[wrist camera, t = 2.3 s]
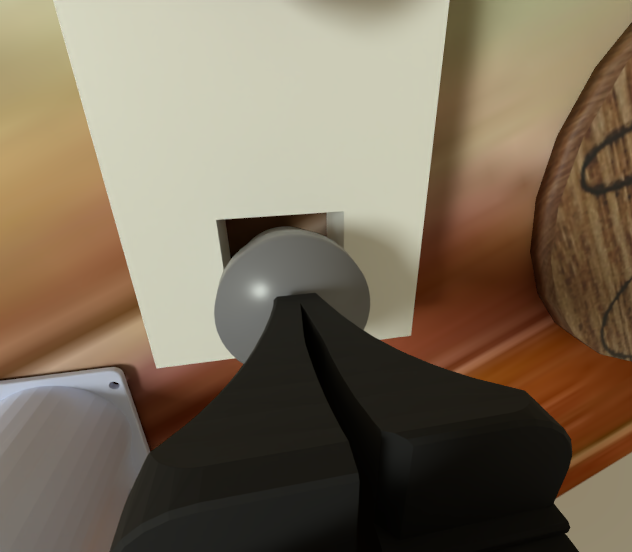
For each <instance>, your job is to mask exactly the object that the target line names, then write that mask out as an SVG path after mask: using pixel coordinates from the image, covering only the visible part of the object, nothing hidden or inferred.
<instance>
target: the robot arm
mask: <svg viewBox="0 0 632 552" xmlns="http://www.w3.org/2000/svg"><path fill="white" fill-rule="evenodd" d="M273 301H274V303H273V308H272V312H271V315H270V317H269V320H268V322H267V324H266V327H265V329H264V331H263V333H262V335H261V337H260V339H259V341H258V342H257V344H256V346H255V348H254V349H253V351H252V353H251V354H250V356H249V357H248V359H247V360H246V362H245V363H244V364H243V366H242V367H241V369H240V370H239V371H238V372H237V374H236V375H235V376H234V377H233V379H232V380H231V381H230V382H229V383H228V385H227V386H226V387H225V388H224V389H223V390H222V391H221V392H220V394H219V395H218V396H217V397H216V398H215V399H214V400H213V401H212V402H210V403H209V404H208V405H207V406H206V407H205V408H204V409H203V410H202V411H201V412H200V413H199V414H198V415H197V416H196V417H195V418H193V419H192V420H191V421H190V422H189V423H187V424H186V425H185V426H184V427H182V428H181V429H180V430H179V431H177V432H176V433H175V434H173V435H172V436H171V437H170V438H168V439H167V440H166V441H164V442H163V443H162V444H161V445H159V446H158V447H157V448H155V449H154V450H152V451H151V452H150V450H149V447H148V444H147V441H146V438H145V435H144V432H143V429H142V426H141V423H140V420H139V417H138V414H137V411H136V408H135V405H134V402H133V399H132V396H131V393H130V390H129V387H128V384H127V381H126V378H125V375H124V372H123V371H122V370H121V369H120V368H117V367H107V368H99V369H91V370H83V371H75V372H67V373H59V374H51V375H43V376H35V377H27V378H20V379H12V380H4V381H0V552H579V551H578V550H577V549H576V547H575V546H574V545H573V543H572V542H571V541H570V539H569V538H568V537H567V535H566V534H565V533H567V532H568V531H569V529H570V526H569V523H568V521H567V519H566V518H565V517H564V516H563V514H562V513H561V512H560V511H559V510H558V508H557V507H556V506H555V504H554V501H555V498H556V496H557V494H558V492H559V489H560V487H561V485H562V482H563V480H564V478H565V476H566V473H567V471H568V469H569V465H570V461H571V458H572V446H571V439H570V437H569V436H568V434H567V432H566V431H565V429H564V428H563V427H562V426H561V425H560V424H559V423H558V422H557V421H556V420H555V419H554V418H553V417H552V416H550V415H549V414H548V413H547V412H546V411H545V410H544V409H543V408H542V407H541V406H540V405H539V404H538V403H537V402H536V401H535V400H534V399H533V398H532V397H531V396H530V395H529V394H528V393H527V392H525V391H524V390H520V389H516V388H512V387H508V386H504V385H499V384H495V383H491V382H487V381H483V380H479V379H475V378H472V377H469V376H465V375H462V374H459V373H456V372H453V371H450V370H447V369H444V368H441V367H438V366H435V365H433V364H430V363H427V362H425V361H423V360H420V359H418V358H416V357H413V356H411V355H408V354H406V353H404V352H402V351H400V350H398V349H396V348H394V347H392V346H390V345H388V344H386V343H384V342H382V341H380V340H379V339H377V338H375V337H373V336H372V335H370V334H369V333H367V332H366V331H364V330H362V329H361V328H359V327H358V326H356V325H355V324H354V323H352V322H351V321H349V320H348V319H347V318H345V317H344V316H343V315H341V314H340V313H339V312H338V311H336V310H335V309H334V308H333V307H332V306H330V305H329V304H328V303H327V302H326V301H324V300H323V299H322V298H321V297H320V296H319V295H317V294H316V293H307V294H298V295H288V296H278V297H276V298H275V299H274V300H273ZM112 382H117V383H118V384H114V383H112Z"/></svg>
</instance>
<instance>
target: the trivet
mask: <svg viewBox="0 0 632 552" xmlns="http://www.w3.org/2000/svg"><path fill="white" fill-rule="evenodd" d="M530 253H531V259H532V265H533V270H534V276H535V282H536V288H537V293H538V295H539V297H540V298H541V300H542V302H543V303H544V305H545V307H546V308H547V310H548V312H549V314H550V315H551V317H552V319H553V320H554V322H555V323H556V324H558V325H559V326H560V327H562V328H563V329H564V330H566V331H567V332H569V333H570V334H571V335H573V336H574V337H575V338H577V339H578V340H580V341H581V342H583V343H584V344H586V345H587V346H589V347H590V348H592V349H593V350H595V351H596V352H598V353H599V354H603V355H607V356H611V357H615V358H619V359H623V360H628V361H632V23H631V24H630V25H629V26H628V28H627V29H626V30H625V31H624V33H623V34H622V35H621V36H620V38H619V39H618V40H617V41H616V42H615V44H614V45H613V46H612V47H611V49H610V50H609V51H608V52H607V54H606V55H605V56H604V57H603V59H602V60H601V61H600V62H599V64H598V65H597V66H596V67H595V69H594V71H593V72H592V74H591V76H590V78H589V80H588V81H587V83H586V85H585V87H584V89H583V90H582V92H581V94H580V96H579V98H578V99H577V101H576V103H575V105H574V107H573V108H572V110H571V112H570V114H569V116H568V117H567V119H566V121H565V123H564V125H563V126H562V128H561V130H560V132H559V134H558V135H557V138H556V141H555V144H554V147H553V150H552V153H551V156H550V159H549V162H548V165H547V168H546V170H545V173H544V176H543V179H542V182H541V185H540V188H539V191H538V194H537V197H536V203H535V212H534V222H533V231H532V240H531V250H530Z"/></svg>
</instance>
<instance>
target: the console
mask: <svg viewBox="0 0 632 552" xmlns="http://www.w3.org/2000/svg"><path fill="white" fill-rule="evenodd" d="M53 2H54V5H55V9H56V12H57V16H58V19H59V23H60V27H61V30H62V34H63V37H64V41H65V44H66V48H67V51H68V55H69V59H70V62H71V66H72V69H73V73H74V76H75V80H76V84H77V87H78V91H79V94H80V98H81V101H82V105H83V108H84V112H85V116H86V119H87V123H88V126H89V130H90V133H91V137H92V140H93V144H94V148H95V151H96V155H97V158H98V162H99V165H100V169H101V172H102V176H103V180H104V183H105V187H106V190H107V194H108V197H109V201H110V204H111V208H112V212H113V215H114V219H115V222H116V226H117V229H118V233H119V236H120V240H121V244H122V247H123V251H124V254H125V258H126V261H127V265H128V268H129V272H130V276H131V279H132V283H133V286H134V290H135V293H136V297H137V300H138V304H139V308H140V311H141V315H142V318H143V322H144V325H145V329H146V332H147V336H148V340H149V343H150V347H151V350H152V354H153V357H154V361H155V364H156V368H163V367H171V366H178V365H186V364H194V363H202V362H209V361H217V360H225V359H233V358H235V357H234V356H233V355H232V354H231V353H230V352H229V351H228V350H227V349H226V347H225V346H224V344H223V343H222V341H221V339H220V337H219V334H218V332H217V329H216V325H215V318H214V307H215V300H216V295H217V290H218V285H219V281H220V278H221V276H222V273H223V271H224V269H225V267H226V266H227V264H228V263H229V261H230V260H231V257H230V249H229V242H228V235H227V228H226V221H225V219H236V218H251V217H266V216H281V215H296V214H310V213H325V212H327V237H328V238H329V239H331V240H333V241H335V242H336V243H337V244H339V245H340V246H341V247H342V248H343V249H344V250H345V251H346V252H347V253H348V254H349V255H350V256H351V258H352V259H353V260H354V262H355V263H356V264H357V266H358V267H359V269H360V270H361V271H362V273H363V275H364V277H365V279H366V282H367V285H368V288H369V293H370V312H369V317H368V320H367V323H366V326H365V328H364V331H366V332H367V333H369V334H370V335H372V336H373V337H375V338H377V339H379V340H380V339H388V338H396V337H403V336H411V329H412V321H413V312H414V303H415V295H416V286H417V277H418V269H419V260H420V251H421V243H422V234H423V225H424V217H425V208H426V200H427V191H428V182H429V174H430V165H431V156H432V148H433V139H434V130H435V122H436V113H437V104H438V96H439V87H440V78H441V70H442V61H443V52H444V44H445V35H446V26H447V18H448V9H449V0H53Z"/></svg>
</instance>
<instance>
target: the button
mask: <svg viewBox="0 0 632 552" xmlns="http://www.w3.org/2000/svg"><path fill="white" fill-rule="evenodd" d="M307 293H316V294H317V295H319V296H320V297H321V298H322V299H323V300H324V301H326V302H327V303H328V304H329V305H330V306H332V307H333V308H334V309H335V310H336V311H338V312H339V313H340V314H341V315H343V316H344V317H345V318H347V319H348V320H349V321H351V322H352V323H354V324H355V325H356V326H358V327H359V328H361V329H362V330H364V328H365V326H366V323H367V320H368V317H369V312H370V293H369V288H368V285H367V282H366V279H365V277H364V275H363V273H362V271H361V270H360V269H359V267H358V266H357V264H356V263H355V262H354V260H353V259H352V258H351V256H350V255H349V254H348V253H347V252H346V251H345V250H344V249H343V248H342V247H341V246H340V245H339V244H337V243H336V242H335V241H333V240H331V239H329V238H328V237H326V236H323V235H321V234H318V233H314V232H310V231H306V230H303V229H301V228H297V227H290V226H282V227H275V228H271V229H268V230H266V231H263V232H262V233H260V234H258V235H257V236H255V237H254V238H253V239H252V240H251V241H250V242H249V243H248V244H247V245H245V246H244V247H243V248H241V249H240V250H239V251H238V252H237V253H236V254H235V255H234V256H233V257H232V259H231V260H230V261H229V263H228V264H227V266H226V267H225V269H224V271H223V273H222V276H221V278H220V281H219V285H218V290H217V295H216V300H215V307H214V318H215V325H216V329H217V332H218V334H219V337H220V339H221V341H222V343H223V344H224V346H225V347H226V349H227V350H228V351H229V352H230V353H231V354H232V355H233V356H234V357H235V358H236V359H237V360H239V361H240V362H242V363H243V364H244V363H245V362H246V360H247V359H248V357H249V356H250V354H251V353H252V351H253V349H254V348H255V346H256V344H257V342H258V341H259V339H260V337H261V335H262V333H263V331H264V329H265V327H266V324H267V322H268V320H269V317H270V315H271V312H272V308H273V303H274V301H273V300H274V299H275V298H276V297H278V296H288V295H298V294H307Z"/></svg>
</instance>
